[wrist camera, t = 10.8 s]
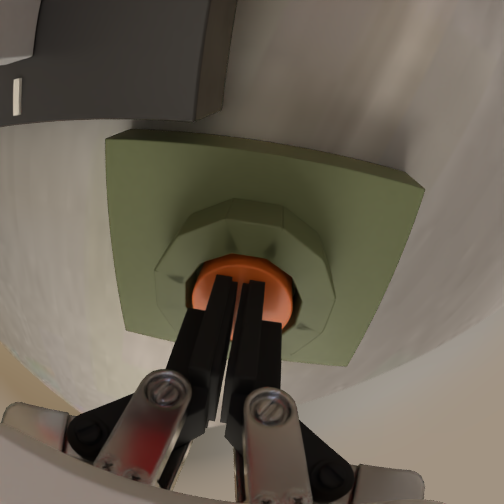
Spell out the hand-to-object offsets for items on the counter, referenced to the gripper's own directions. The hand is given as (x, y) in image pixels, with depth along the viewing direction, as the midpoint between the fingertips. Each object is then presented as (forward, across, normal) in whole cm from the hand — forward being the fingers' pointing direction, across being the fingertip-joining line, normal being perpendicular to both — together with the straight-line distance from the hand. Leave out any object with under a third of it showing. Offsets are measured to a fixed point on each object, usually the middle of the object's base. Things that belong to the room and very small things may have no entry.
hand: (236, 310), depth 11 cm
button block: (+4, 0, 0) cm, 4 cm away
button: (+2, 0, 0) cm, 2 cm away
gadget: (+4, +9, -11) cm, 15 cm away
